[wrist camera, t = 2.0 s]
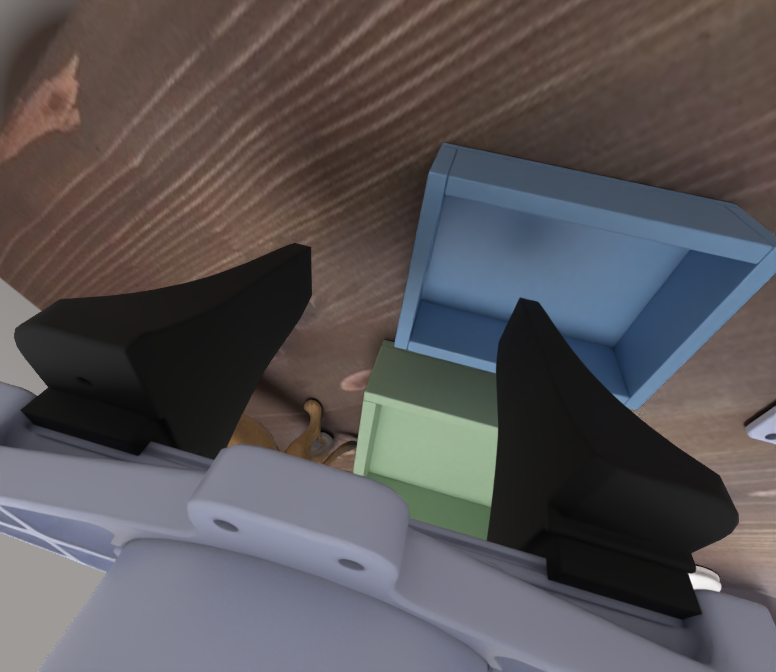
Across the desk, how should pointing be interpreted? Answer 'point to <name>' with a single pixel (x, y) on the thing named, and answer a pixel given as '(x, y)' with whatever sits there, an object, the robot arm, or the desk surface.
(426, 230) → the blue bin
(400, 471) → the big bin
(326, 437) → the lion figurine
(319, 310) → the desk surface
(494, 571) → the robot arm
